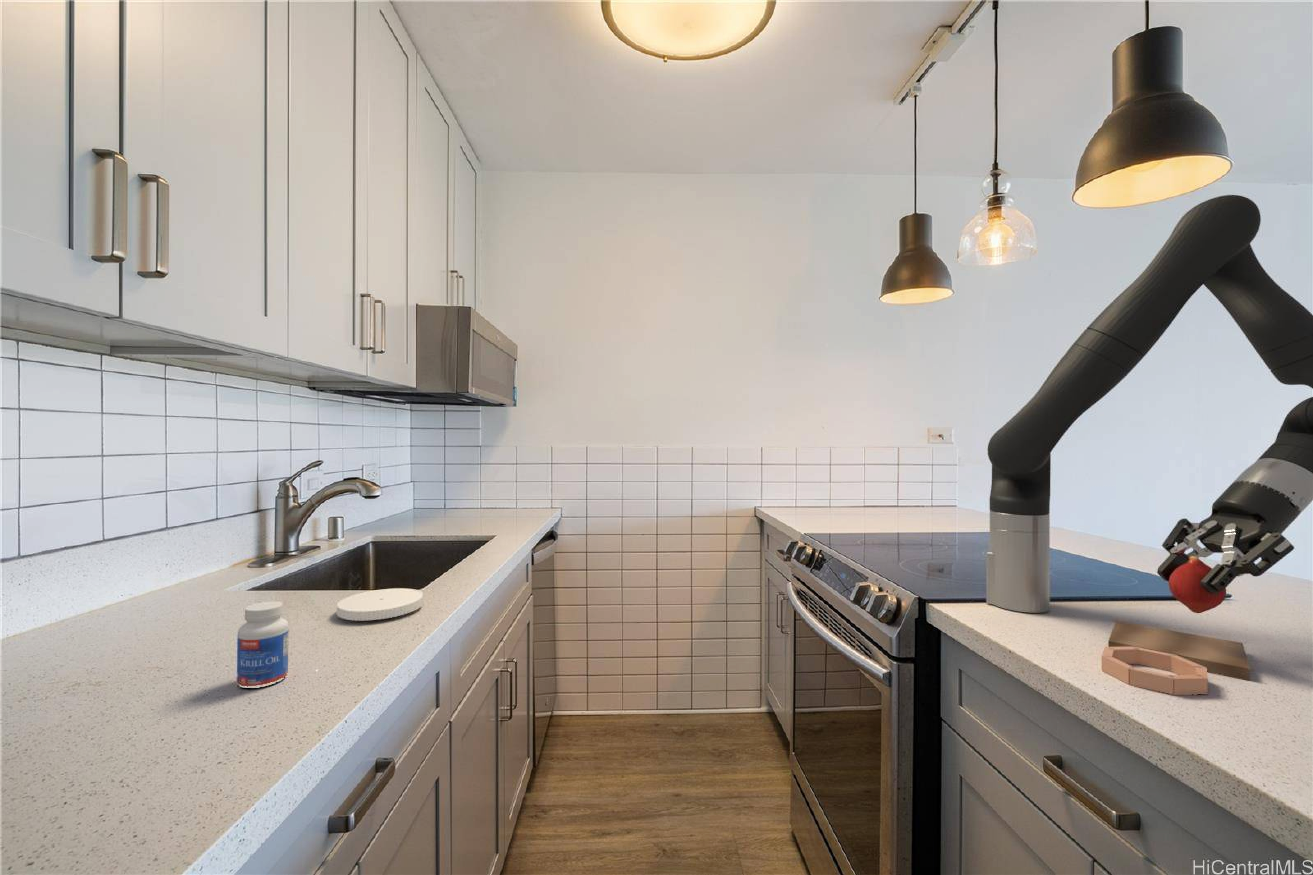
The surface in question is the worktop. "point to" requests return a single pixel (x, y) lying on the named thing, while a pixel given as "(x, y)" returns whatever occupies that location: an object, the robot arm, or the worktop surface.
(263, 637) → the pill bottle
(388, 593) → the plastic lid
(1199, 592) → the onion
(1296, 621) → the worktop surface
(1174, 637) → the walnut board
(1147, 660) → the ring holder
